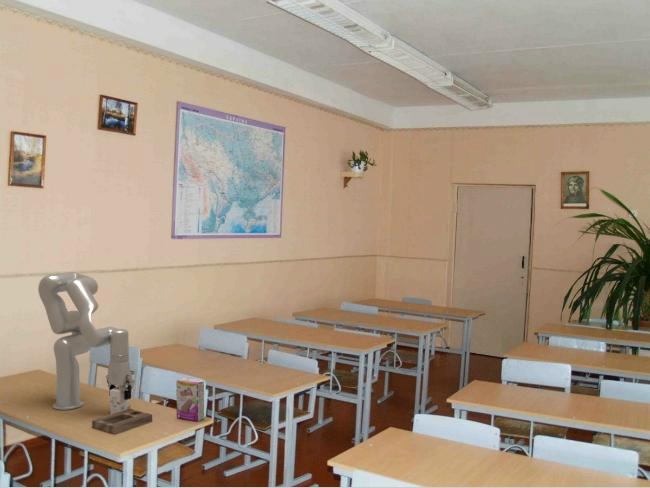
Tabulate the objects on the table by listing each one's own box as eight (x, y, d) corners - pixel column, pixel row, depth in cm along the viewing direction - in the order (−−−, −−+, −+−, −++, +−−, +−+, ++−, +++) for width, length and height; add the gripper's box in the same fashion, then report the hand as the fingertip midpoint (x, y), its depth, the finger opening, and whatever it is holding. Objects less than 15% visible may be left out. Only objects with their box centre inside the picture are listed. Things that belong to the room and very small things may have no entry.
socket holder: (92, 427, 259) (92, 420, 259) (129, 415, 275) (129, 408, 274) (114, 434, 251) (114, 426, 251) (152, 421, 267) (152, 414, 267)
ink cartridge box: (120, 411, 280) (119, 378, 280) (130, 412, 279) (130, 378, 279) (109, 417, 272) (109, 383, 271) (120, 418, 271) (119, 383, 270)
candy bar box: (175, 418, 271) (175, 380, 270) (183, 415, 275) (183, 377, 275) (197, 422, 266) (197, 383, 265) (204, 418, 271) (204, 380, 270)
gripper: (99, 357, 276) (99, 396, 277) (125, 362, 267) (126, 402, 267) (113, 354, 282) (114, 392, 283) (140, 358, 273) (140, 398, 274)
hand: (120, 397), depth 275 cm, fingers open, 9 cm apart
